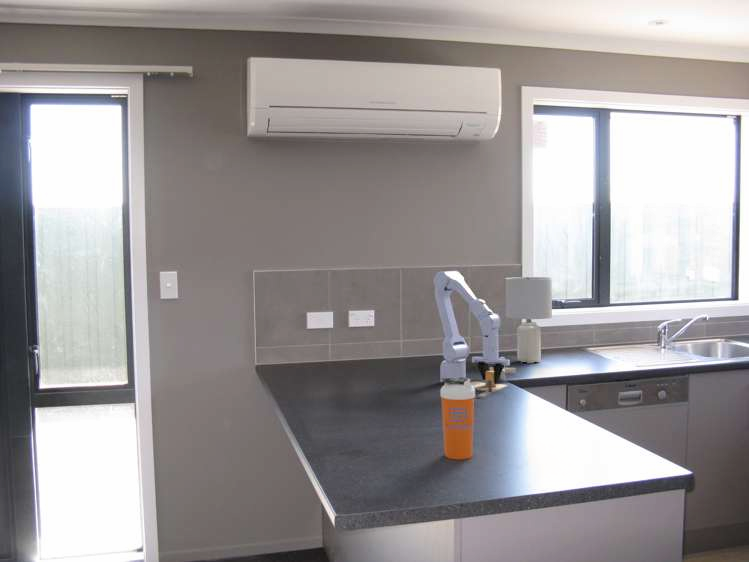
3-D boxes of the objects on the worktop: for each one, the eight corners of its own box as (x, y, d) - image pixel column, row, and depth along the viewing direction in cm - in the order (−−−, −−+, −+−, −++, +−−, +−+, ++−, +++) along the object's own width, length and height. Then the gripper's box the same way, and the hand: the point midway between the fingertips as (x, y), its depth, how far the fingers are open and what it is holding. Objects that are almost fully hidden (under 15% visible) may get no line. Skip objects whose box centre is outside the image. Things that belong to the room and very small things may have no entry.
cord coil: (483, 385, 262) (483, 372, 261) (488, 383, 265) (488, 370, 265) (493, 386, 259) (493, 373, 259) (498, 384, 263) (497, 371, 262)
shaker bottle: (438, 451, 186) (437, 376, 185) (471, 449, 187) (470, 375, 185) (444, 461, 177) (443, 383, 176) (479, 460, 178) (478, 381, 177)
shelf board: (448, 395, 253) (447, 381, 253) (475, 384, 271) (474, 371, 271) (483, 399, 245) (483, 384, 245) (508, 388, 264) (508, 374, 263)
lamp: (501, 359, 329) (500, 276, 327) (542, 357, 331) (542, 275, 329) (514, 366, 309) (513, 278, 307) (558, 364, 311) (558, 277, 309)
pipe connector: (515, 385, 268) (515, 359, 267) (489, 385, 270) (489, 359, 269) (515, 380, 277) (515, 355, 277) (490, 380, 279) (490, 355, 279)
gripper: (468, 346, 262) (468, 382, 263) (504, 349, 254) (504, 386, 255) (476, 344, 268) (476, 379, 269) (512, 347, 260) (512, 383, 261)
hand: (490, 382), depth 262 cm, fingers closed on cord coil, 4 cm apart
